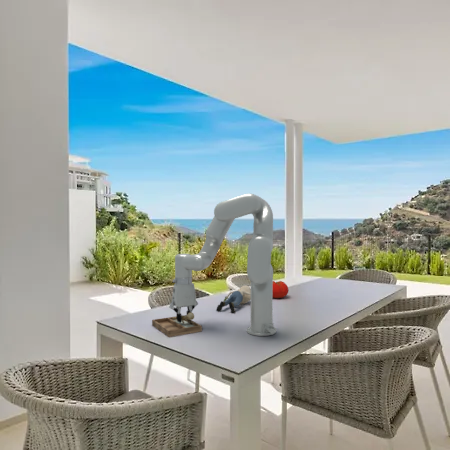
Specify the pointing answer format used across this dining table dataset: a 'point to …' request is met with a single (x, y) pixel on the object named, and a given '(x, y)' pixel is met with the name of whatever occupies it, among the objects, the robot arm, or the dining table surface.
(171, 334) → the wooden compartment tray
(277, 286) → the tomato
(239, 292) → the toy
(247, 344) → the dining table surface
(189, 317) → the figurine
